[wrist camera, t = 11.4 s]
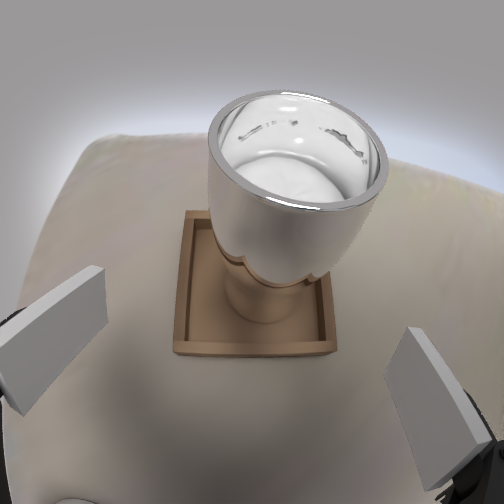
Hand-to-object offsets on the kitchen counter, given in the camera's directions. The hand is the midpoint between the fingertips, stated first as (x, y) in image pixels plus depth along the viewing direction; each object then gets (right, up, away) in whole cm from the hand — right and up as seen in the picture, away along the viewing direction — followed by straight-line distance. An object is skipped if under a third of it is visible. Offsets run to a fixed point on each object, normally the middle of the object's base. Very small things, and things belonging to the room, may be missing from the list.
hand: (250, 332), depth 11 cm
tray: (0, 0, +12) cm, 12 cm away
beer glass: (+1, 0, +12) cm, 12 cm away
